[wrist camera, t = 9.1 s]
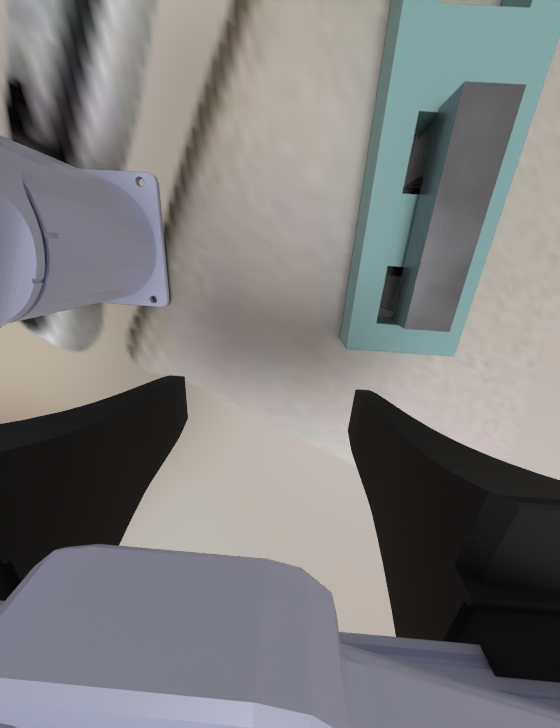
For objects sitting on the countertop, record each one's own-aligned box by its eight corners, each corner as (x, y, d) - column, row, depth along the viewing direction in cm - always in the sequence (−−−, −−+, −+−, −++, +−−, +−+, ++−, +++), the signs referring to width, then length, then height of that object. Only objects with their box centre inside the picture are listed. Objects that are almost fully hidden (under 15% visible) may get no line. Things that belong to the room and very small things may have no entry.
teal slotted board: (434, 344, 19) (453, 356, 17) (339, 338, 20) (346, 348, 17) (568, -109, 12) (637, -202, 9) (408, -116, 12) (437, -208, 9)
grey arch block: (376, 311, 19) (404, 328, 14) (411, 136, 15) (464, 81, 10) (410, 313, 19) (449, 332, 14) (454, 138, 15) (526, 84, 10)
